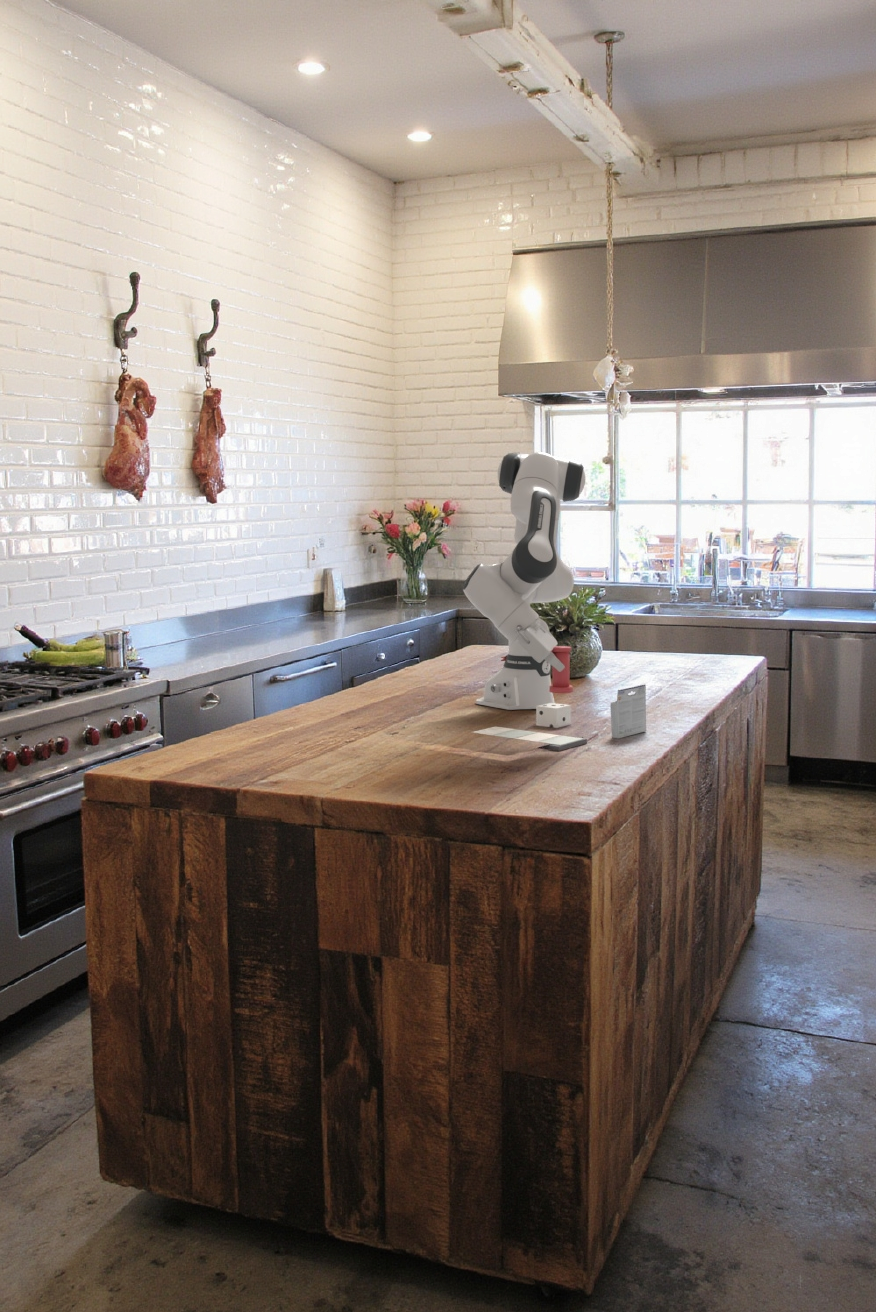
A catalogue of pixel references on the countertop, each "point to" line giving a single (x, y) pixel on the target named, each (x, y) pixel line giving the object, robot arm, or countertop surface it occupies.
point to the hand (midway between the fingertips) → (564, 667)
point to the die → (553, 715)
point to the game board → (536, 738)
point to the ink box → (629, 712)
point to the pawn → (561, 678)
